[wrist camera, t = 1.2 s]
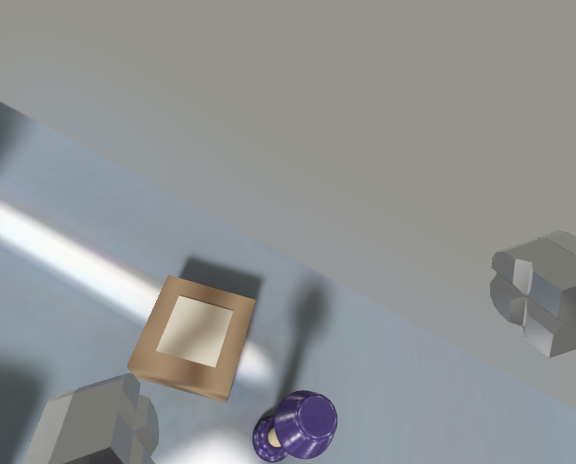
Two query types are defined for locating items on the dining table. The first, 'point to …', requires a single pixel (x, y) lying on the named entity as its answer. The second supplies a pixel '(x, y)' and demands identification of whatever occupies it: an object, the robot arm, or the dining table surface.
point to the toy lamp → (296, 428)
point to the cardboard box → (193, 339)
